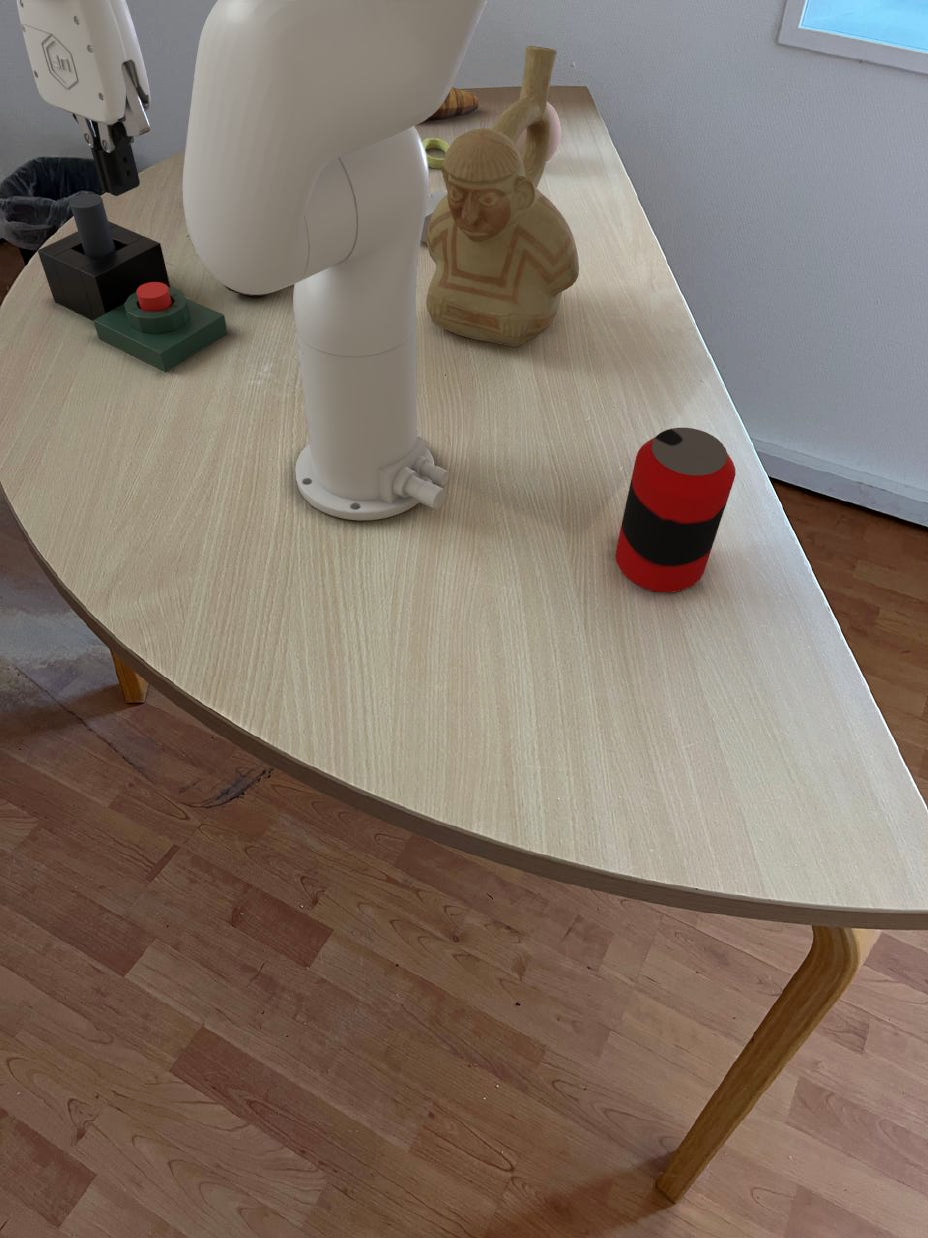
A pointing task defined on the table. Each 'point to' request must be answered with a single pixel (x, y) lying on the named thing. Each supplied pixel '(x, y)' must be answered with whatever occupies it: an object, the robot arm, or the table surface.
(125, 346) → the station
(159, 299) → the power button
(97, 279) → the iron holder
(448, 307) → the ceramic vessel
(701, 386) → the table surface
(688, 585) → the soda can
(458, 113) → the croissant
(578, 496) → the table surface
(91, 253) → the soldering iron
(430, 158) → the yellow-green curved piece
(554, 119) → the egg
